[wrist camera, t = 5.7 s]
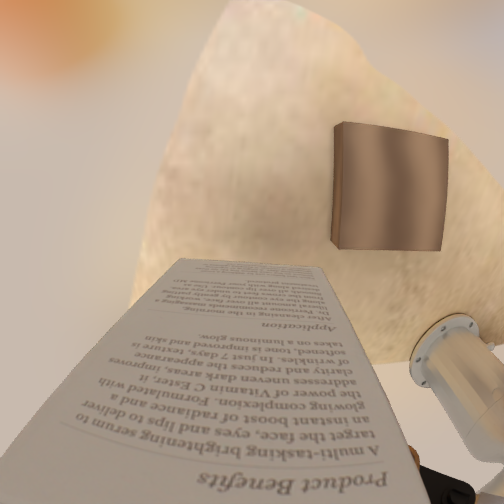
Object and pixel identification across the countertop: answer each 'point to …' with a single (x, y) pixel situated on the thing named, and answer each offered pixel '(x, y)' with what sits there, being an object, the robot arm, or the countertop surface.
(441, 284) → the countertop surface
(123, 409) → the small box
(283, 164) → the countertop surface
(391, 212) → the walnut block
